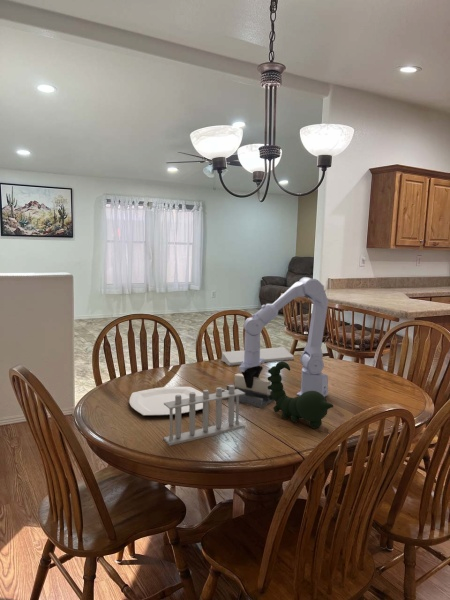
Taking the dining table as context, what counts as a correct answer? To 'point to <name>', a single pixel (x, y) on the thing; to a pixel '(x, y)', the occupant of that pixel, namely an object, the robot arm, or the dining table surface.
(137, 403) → the plate
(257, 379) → the clay strip
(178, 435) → the test tube rack
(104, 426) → the dining table surface
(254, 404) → the grey grooved block
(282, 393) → the toy figurine
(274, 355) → the decorative molding
